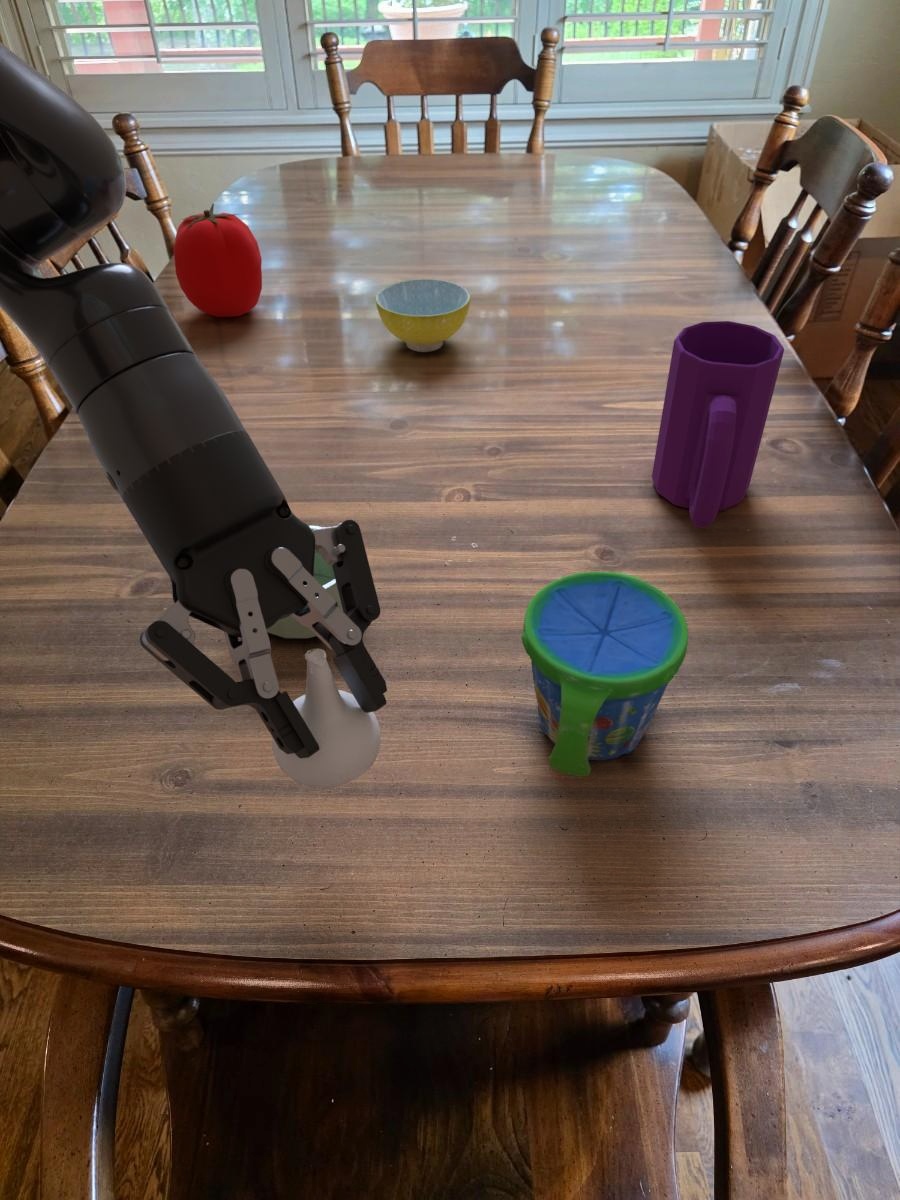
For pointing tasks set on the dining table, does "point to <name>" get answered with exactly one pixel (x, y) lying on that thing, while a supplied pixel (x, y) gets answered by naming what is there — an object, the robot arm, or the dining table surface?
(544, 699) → the snack cup
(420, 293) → the bowl
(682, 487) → the mug
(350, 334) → the dining table surface
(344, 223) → the dining table surface
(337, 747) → the garlic bulb
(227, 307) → the tomato
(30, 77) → the robot arm
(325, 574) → the dish
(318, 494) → the dining table surface
